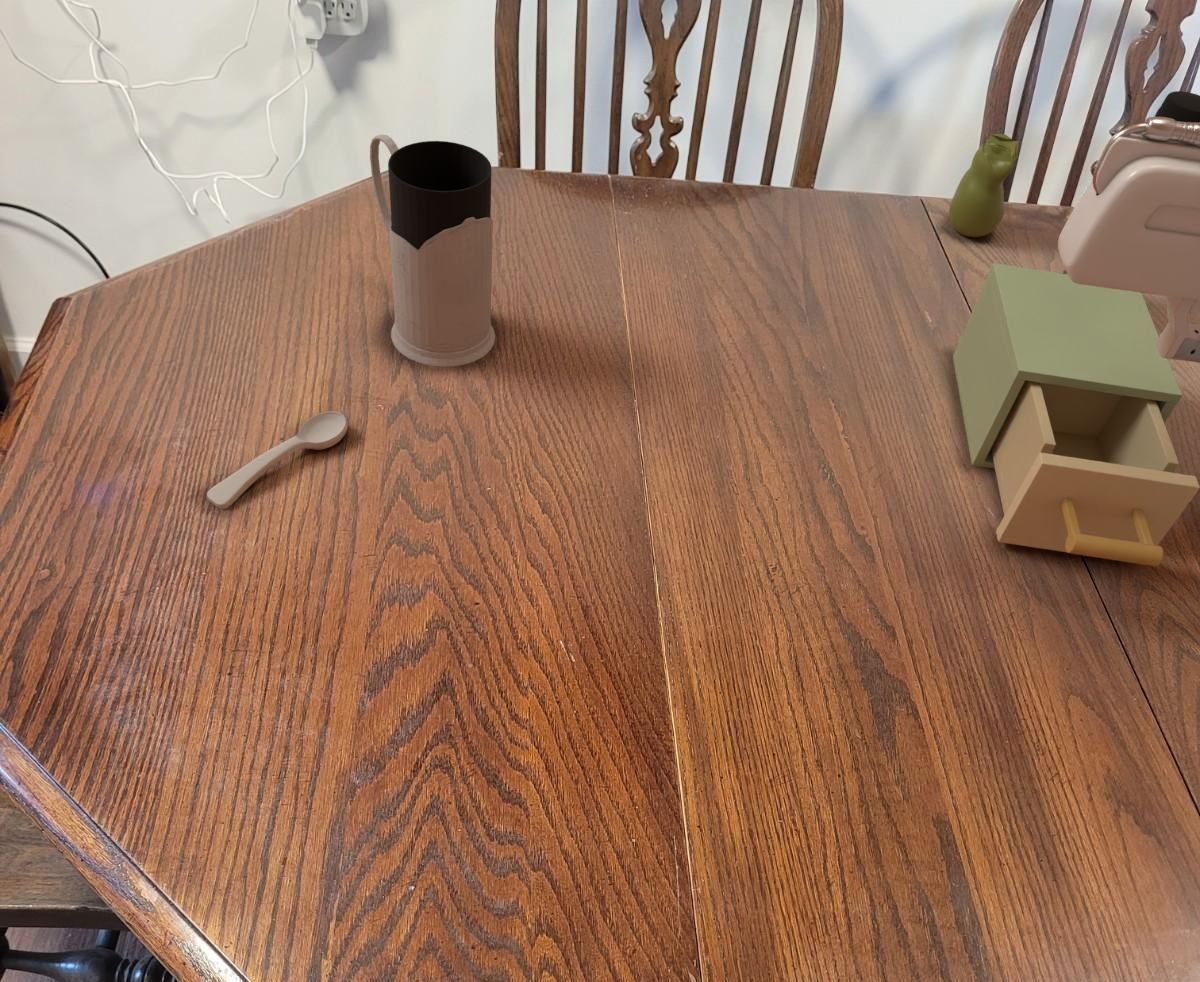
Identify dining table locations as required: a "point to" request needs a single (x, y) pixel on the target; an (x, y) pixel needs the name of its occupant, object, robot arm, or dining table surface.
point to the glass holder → (438, 249)
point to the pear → (983, 188)
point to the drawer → (1088, 474)
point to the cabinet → (1053, 348)
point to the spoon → (280, 455)
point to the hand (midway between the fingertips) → (1181, 355)
